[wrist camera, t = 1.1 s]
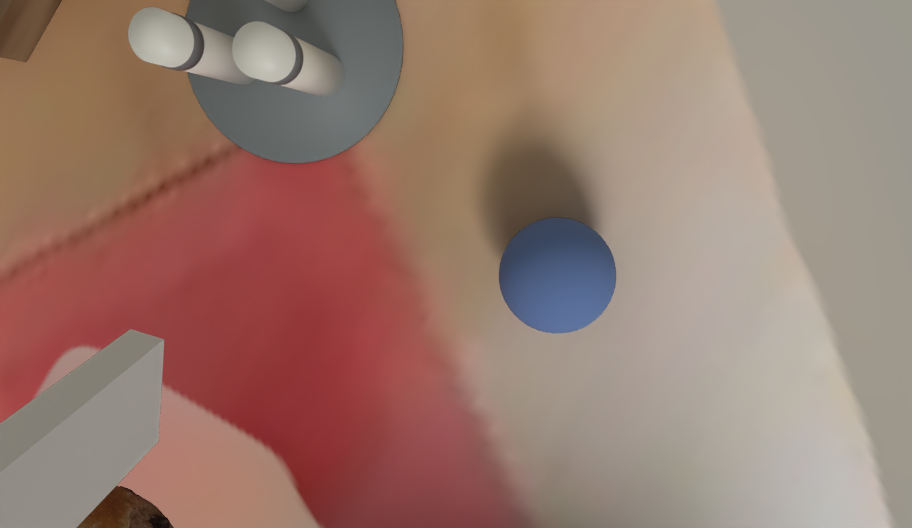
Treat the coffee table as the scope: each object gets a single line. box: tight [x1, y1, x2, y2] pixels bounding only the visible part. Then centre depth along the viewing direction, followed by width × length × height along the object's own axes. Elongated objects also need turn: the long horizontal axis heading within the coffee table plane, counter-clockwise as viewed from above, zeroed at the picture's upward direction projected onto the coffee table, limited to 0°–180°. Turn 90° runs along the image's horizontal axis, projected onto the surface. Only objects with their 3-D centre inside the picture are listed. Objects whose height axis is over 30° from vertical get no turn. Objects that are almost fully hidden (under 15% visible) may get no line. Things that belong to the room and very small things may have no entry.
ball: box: [499, 218, 616, 333], centre depth 33 cm, size 6×6×6 cm
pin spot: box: [186, 0, 403, 163], centre depth 36 cm, size 13×13×1 cm
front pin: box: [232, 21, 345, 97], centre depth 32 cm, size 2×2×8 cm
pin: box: [128, 7, 255, 85], centre depth 32 cm, size 2×2×8 cm
